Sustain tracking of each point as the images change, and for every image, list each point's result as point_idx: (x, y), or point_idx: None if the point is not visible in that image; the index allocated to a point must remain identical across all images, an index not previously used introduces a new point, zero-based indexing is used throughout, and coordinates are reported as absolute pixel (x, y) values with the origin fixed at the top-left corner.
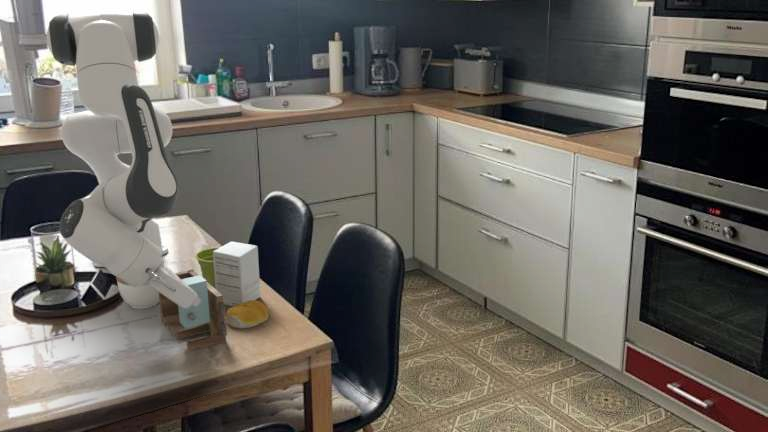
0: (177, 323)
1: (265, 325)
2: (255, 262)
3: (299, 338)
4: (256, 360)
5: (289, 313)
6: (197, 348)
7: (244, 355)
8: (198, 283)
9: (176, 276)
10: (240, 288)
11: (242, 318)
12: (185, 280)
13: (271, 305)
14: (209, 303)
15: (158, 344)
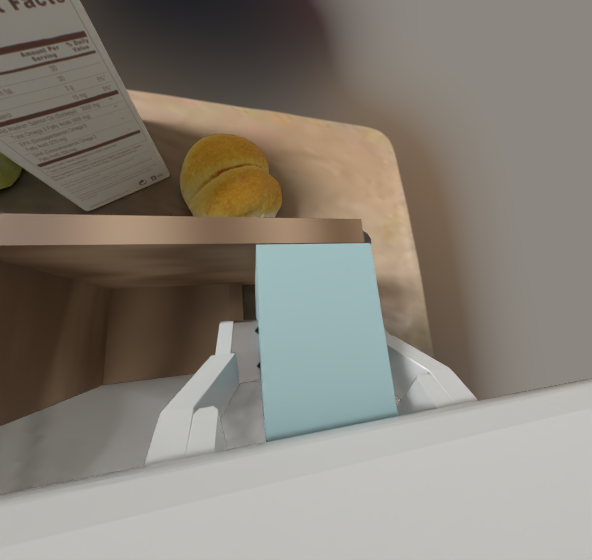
0: (178, 353)
1: (282, 177)
2: None
3: (362, 157)
4: (407, 251)
5: (254, 117)
6: None
7: (382, 262)
8: (374, 297)
9: (501, 545)
10: (142, 130)
11: (273, 205)
12: (301, 368)
13: (192, 122)
14: None
15: (245, 420)
